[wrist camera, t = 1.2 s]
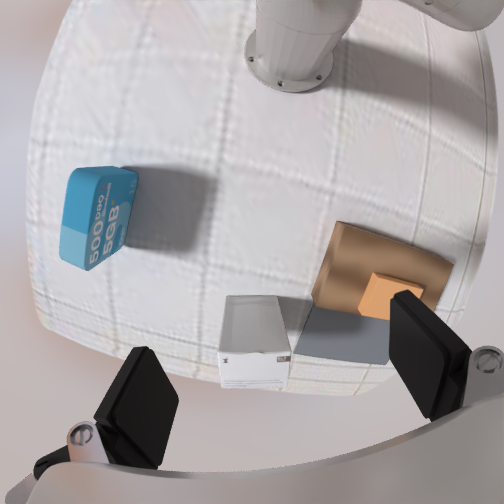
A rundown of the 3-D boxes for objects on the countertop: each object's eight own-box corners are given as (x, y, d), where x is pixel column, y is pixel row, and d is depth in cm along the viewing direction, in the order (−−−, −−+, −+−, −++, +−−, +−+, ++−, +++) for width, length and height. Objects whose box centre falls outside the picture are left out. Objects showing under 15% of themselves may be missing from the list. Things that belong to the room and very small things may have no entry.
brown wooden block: (336, 220, 38) (345, 226, 34) (440, 257, 40) (453, 264, 36) (311, 294, 42) (316, 306, 38) (415, 316, 43) (425, 326, 39)
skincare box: (227, 325, 43) (216, 390, 29) (225, 292, 42) (213, 352, 27) (278, 326, 43) (287, 391, 29) (280, 293, 42) (292, 353, 27)
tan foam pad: (357, 308, 38) (361, 315, 36) (372, 272, 36) (378, 277, 34) (401, 317, 38) (407, 323, 37) (417, 284, 37) (423, 289, 35)
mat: (315, 298, 42) (316, 299, 41) (410, 317, 43) (411, 318, 43) (293, 352, 45) (293, 353, 45) (384, 363, 46) (385, 364, 46)
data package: (124, 247, 40) (84, 275, 28) (101, 238, 39) (57, 263, 28) (141, 172, 36) (98, 176, 25) (116, 165, 36) (69, 168, 24)
